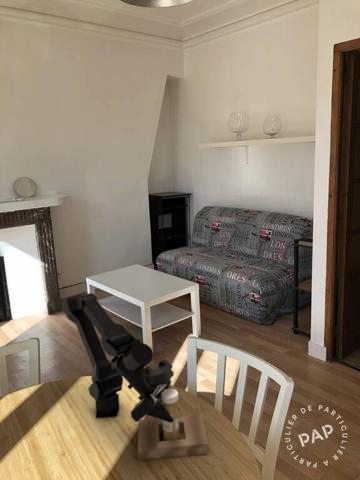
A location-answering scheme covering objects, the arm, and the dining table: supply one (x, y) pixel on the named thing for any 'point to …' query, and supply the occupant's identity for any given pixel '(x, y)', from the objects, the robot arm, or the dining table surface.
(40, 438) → the dining table surface
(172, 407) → the sprinkles bottle
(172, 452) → the socket block
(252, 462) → the dining table surface
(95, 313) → the robot arm
